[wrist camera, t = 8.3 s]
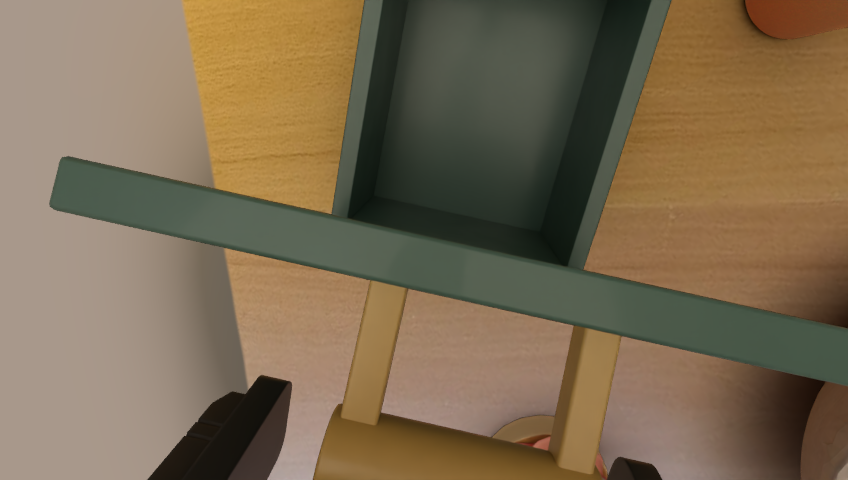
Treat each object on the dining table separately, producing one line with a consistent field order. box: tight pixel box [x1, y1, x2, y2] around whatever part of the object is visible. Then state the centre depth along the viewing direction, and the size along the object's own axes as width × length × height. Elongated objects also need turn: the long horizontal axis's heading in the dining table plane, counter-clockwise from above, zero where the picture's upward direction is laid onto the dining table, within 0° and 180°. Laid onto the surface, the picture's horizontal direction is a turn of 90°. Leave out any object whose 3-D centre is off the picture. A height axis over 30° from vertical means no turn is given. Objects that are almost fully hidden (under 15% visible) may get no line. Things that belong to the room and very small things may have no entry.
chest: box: [332, 0, 671, 270], centre depth 26 cm, size 17×14×9 cm
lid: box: [49, 156, 848, 480], centre depth 15 cm, size 18×14×5 cm
